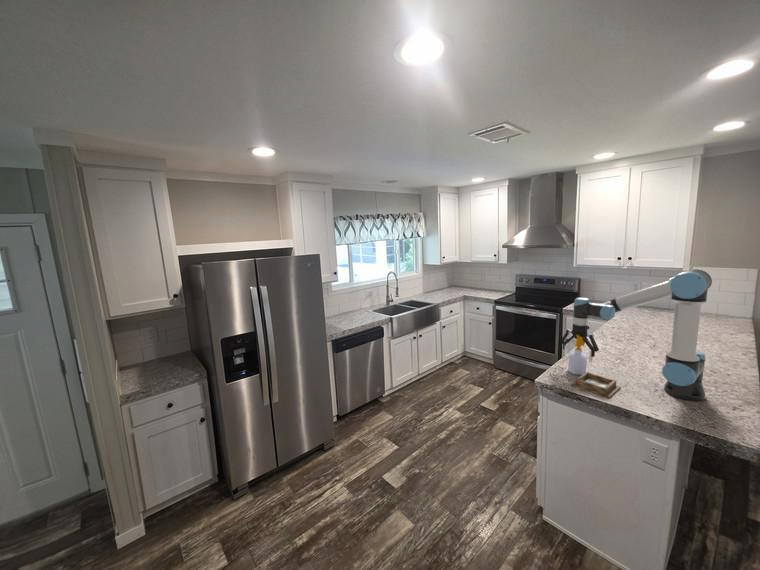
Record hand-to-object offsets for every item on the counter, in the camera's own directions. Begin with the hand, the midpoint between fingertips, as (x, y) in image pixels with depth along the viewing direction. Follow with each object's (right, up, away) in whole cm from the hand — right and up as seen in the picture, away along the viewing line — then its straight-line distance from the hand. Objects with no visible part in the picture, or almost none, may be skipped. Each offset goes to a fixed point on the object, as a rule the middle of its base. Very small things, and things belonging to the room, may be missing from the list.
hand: (577, 358), depth 188 cm
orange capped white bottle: (0, -9, +1) cm, 9 cm away
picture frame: (-1, -12, -17) cm, 20 cm away
